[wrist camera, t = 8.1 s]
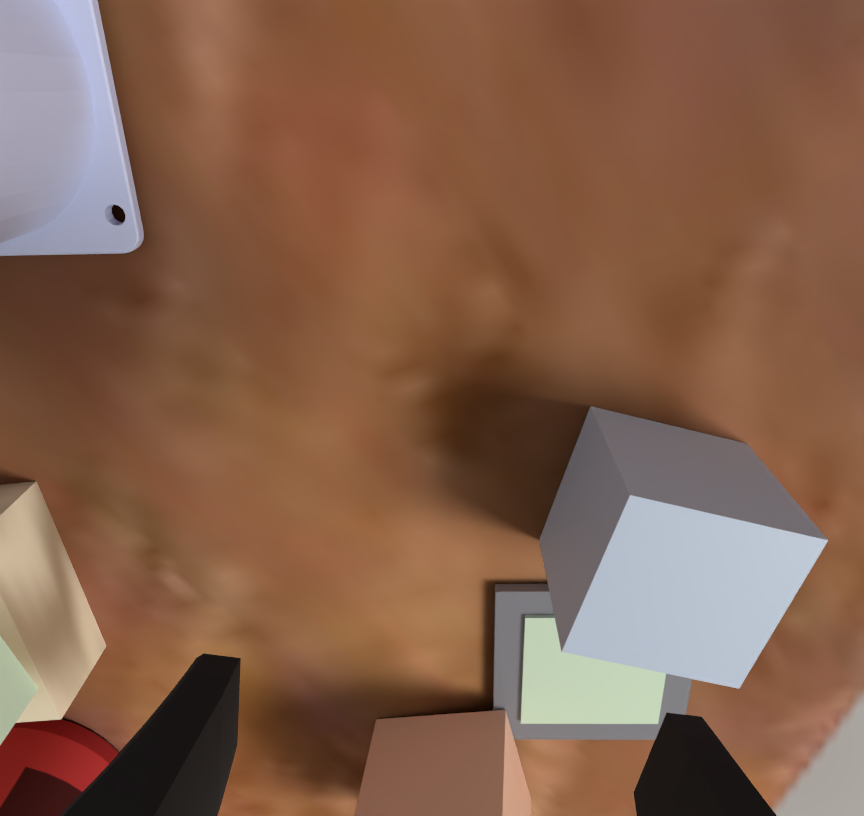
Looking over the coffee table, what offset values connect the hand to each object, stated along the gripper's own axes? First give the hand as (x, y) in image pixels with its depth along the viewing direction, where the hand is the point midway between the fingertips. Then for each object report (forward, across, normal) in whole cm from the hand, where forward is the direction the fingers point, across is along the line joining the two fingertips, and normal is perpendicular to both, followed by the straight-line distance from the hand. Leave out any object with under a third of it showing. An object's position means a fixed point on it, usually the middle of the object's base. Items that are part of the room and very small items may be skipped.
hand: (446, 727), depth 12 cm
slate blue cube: (+10, -6, +1) cm, 12 cm away
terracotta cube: (+10, -2, +14) cm, 17 cm away
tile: (+10, -6, +8) cm, 15 cm away
